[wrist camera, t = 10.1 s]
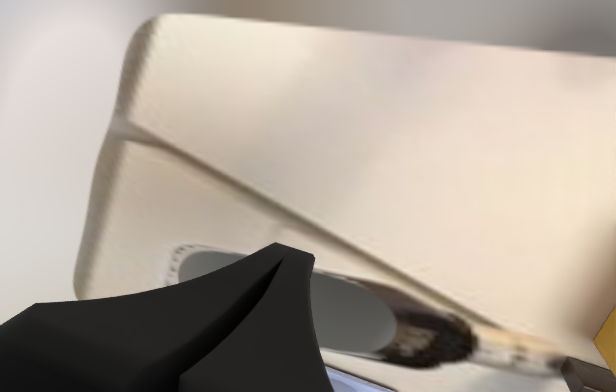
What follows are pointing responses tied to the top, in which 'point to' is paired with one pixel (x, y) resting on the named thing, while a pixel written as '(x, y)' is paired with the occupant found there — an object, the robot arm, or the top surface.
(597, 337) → the block
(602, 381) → the bay
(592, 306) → the top surface
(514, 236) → the top surface
